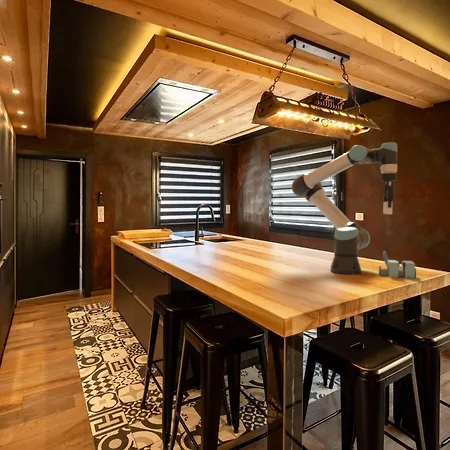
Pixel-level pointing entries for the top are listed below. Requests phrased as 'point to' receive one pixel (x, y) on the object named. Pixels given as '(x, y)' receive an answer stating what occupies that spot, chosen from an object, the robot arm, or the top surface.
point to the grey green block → (393, 268)
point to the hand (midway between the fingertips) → (387, 214)
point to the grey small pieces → (388, 259)
